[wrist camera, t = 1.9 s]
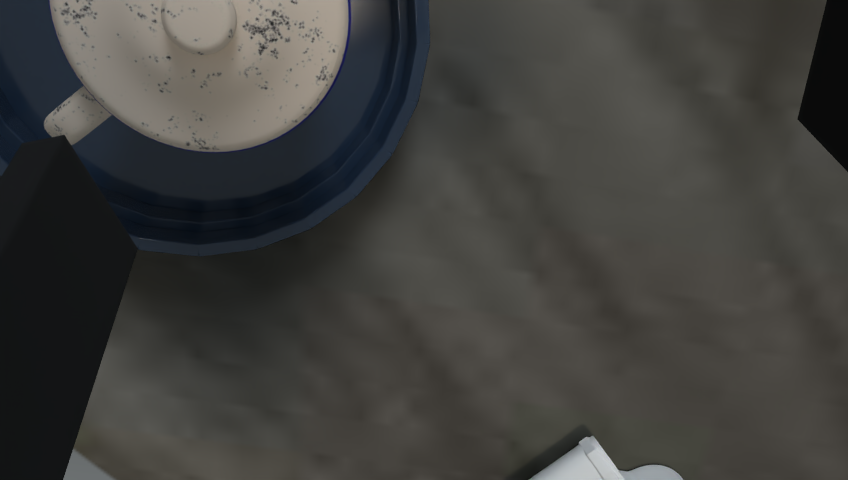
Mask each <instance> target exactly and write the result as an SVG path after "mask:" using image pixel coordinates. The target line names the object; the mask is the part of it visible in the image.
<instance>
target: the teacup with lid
mask: <svg viewBox="0 0 848 480" xmlns="http://www.w3.org/2000/svg"><path fill="white" fill-rule="evenodd" d="M48 2H49V8H50V14H51V19H52V23H53V26H54V30H55V33H56V36H57V39H58V41H59V44H60V47H61V49H62V51H63V53H64V55H65V57H66V59H67V61H68V63H69V65H70V67H71V68H72V70H73V71H74V73H75V75H76V76H77V78H78V79H79V80H80V82H81V83H82V84H83V87H82V88H80V89H79V90H78V91H77V92H75V93H74V94H73V95H72V96H70V97H69V98H68V99H67V100H65V101H64V102H63V103H62V104H61V105H59V106H58V107H57V108H56V109H55V110H54V111H52V112H51V113H50V114H49V115H48V116H47V117H46V119H45V121H44V128H45V130H46V131H47V133H48V134H49V135H50V136H51V137H55V136H60V135H65V136H66V138H67V140H68V141H69V143H70V144H71V145H73V144H75V143H77V142H78V141H79V140H81V139H82V138H83V137H85V136H86V135H87V134H89V133H90V132H91V131H92V130H94V129H95V128H96V127H97V126H99V125H100V124H101V123H102V122H104V121H105V120H106V119H107V118H109V117H110V116H111V115H113V116H114V117H115V118H116V119H118V120H119V121H120V122H122V123H123V124H125V125H126V126H128V127H129V128H131V129H132V130H134V131H136V132H138V133H140V134H142V135H144V136H145V137H148V138H150V139H152V140H155V141H157V142H159V143H162V144H165V145H168V146H171V147H175V148H179V149H183V150H188V151H194V152H202V153H229V152H237V151H243V150H247V149H252V148H256V147H259V146H262V145H265V144H267V143H270V142H272V141H274V140H276V139H279V138H280V137H282V136H284V135H286V134H287V133H289V132H291V131H292V130H294V129H295V128H296V127H298V126H299V125H301V124H302V123H303V122H304V121H305V120H306V119H307V118H309V117H310V116H311V115H312V114H313V113H314V112H315V110H316V109H317V108H318V107H319V106H320V105H321V103H322V102H323V101H324V100H325V98H326V97H327V96H328V94H329V92H330V91H331V89H332V87H333V86H334V84H335V82H336V80H337V78H338V76H339V74H340V71H341V69H342V66H343V63H344V60H345V57H346V53H347V49H348V44H349V38H350V30H351V3H350V0H48Z"/></svg>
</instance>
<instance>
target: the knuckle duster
mask: <svg viewBox="0 0 848 480" xmlns="http://www.w3.org/2000/svg"><path fill="white" fill-rule="evenodd" d="M529 480H683V479H682V477H681V476H680V475H679V474H678V473H677V472H676V471H674V470H673V469H671V468H669V467H666V466H662V465H647V466H642V467H639V468H636V469H633V470H631V471H621V470H618V469H617V468H616V466H615V465H614V464H613V462H612V461H611V459H610V458H609V457H608V455H607V454H606V453H605V451H604V450H603V448H602V447H601V446H600V444H599V443H598V442H597V440H596V439H595V438H594V436H593V435H592V436H591V437H585V438H584V439H582V440H581V441H579V445H578V446H576V447H575V448H573V449H572V450H571V451H569V452H568V453H566V454H565V455H563V456H562V457H560V458H559V459H557V460H556V461H555V462H553V463H552V464H550V465H549V466H547V467H546V468H545V469H543V470H542V471H540V472H539V473H537V474H536V475H534V476H533V477H532V478H530V479H529Z"/></svg>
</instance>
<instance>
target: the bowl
mask: <svg viewBox="0 0 848 480" xmlns="http://www.w3.org/2000/svg"><path fill="white" fill-rule="evenodd" d="M350 3H351V30H350V38H349V44H348V49H347V53H346V57H345V60H344V63H343V66H342V69H341V71H340V74H339V76H338V78H337V80H336V82H335V84H334V86H333V87H332V89H331V91H330V92H329V94H328V96H327V97H326V98H325V100H324V101H323V102H322V103H321V105H320V106H319V107H318V108H317V109H316V110H315V112H314V113H313V114H312V115H311V116H310V117H309V118H307V119H306V120H305V121H304V122H303V123H302V124H301V125H299V126H298V127H296V128H295V129H294V130H292V131H291V132H289V133H287V134H286V135H284V136H282V137H280V138H279V139H276V140H274V141H272V142H270V143H267V144H265V145H262V146H259V147H256V148H252V149H247V150H243V151H237V152H229V153H202V152H194V151H188V150H183V149H179V148H175V147H171V146H168V145H165V144H162V143H159V142H157V141H155V140H152V139H150V138H148V137H145V136H144V135H142V134H140V133H138V132H136V131H134V130H132V129H131V128H129V127H128V126H126V125H125V124H123V123H122V122H120V121H119V120H118V119H116V118H115V117H114V116H113V115H111V116H110V117H109V118H107V119H106V120H105V121H104V122H102V123H101V124H100V125H99V126H97V127H96V128H95V129H94V130H92V131H91V132H90V133H89V134H87V135H86V136H85V137H83V138H82V139H81V140H79V141H78V142H77V143H75V144H73V145H71V146H72V147H73V149H74V150H75V152H76V154H77V155H78V157H79V158H80V160H81V161H82V163H83V164H84V166H85V168H86V169H87V171H88V172H89V174H90V175H91V177H92V178H93V180H94V182H95V183H96V185H97V186H98V188H99V189H100V191H101V192H102V194H103V195H104V197H105V199H106V200H107V202H108V203H109V205H110V206H111V208H112V209H113V211H114V213H115V214H116V216H117V217H118V219H119V220H120V222H121V223H122V225H123V227H124V228H125V230H126V231H127V233H128V234H129V236H130V237H131V239H132V241H133V242H134V244H135V245H136V247H137V248H138V250H143V251H152V252H161V253H171V254H180V255H190V256H208V255H216V254H224V253H232V252H240V251H248V250H256V249H257V248H258V249H259V248H262V247H265V246H267V245H270V244H272V243H275V242H278V241H280V240H283V239H286V238H288V237H291V236H294V235H296V234H299V233H301V232H304V231H307V230H309V229H310V228H313V227H314V226H316V225H317V224H318V223H320V222H321V221H323V220H324V219H326V218H327V217H328V216H330V215H331V214H333V213H334V212H336V211H337V210H338V209H340V208H341V207H343V206H344V205H346V204H347V203H348V202H350V201H351V200H353V199H354V198H355V196H358V194H359V193H360V192H361V191H362V190H363V189H364V187H365V186H366V185H367V184H368V183H369V182H370V180H371V179H372V178H373V177H374V176H375V175H376V173H377V172H378V171H379V170H380V169H381V168H382V166H383V165H384V164H385V163H386V162H387V161H388V159H389V158H390V157H391V156H392V154H393V153H394V151H395V149H396V147H397V145H398V143H399V141H400V139H401V137H402V134H403V132H404V130H405V128H406V126H407V124H408V122H409V120H410V118H411V116H412V114H413V112H414V110H415V108H416V106H417V102H418V100H419V96H420V91H421V86H422V81H423V76H424V71H425V66H426V62H427V57H428V52H429V47H430V25H429V2H428V0H350ZM82 87H83V84H82V83H81V82H80V80H79V79H78V78H77V76H76V75H75V73H74V71H73V70H72V68H71V67H70V65H69V63H68V61H67V59H66V57H65V55H64V53H63V51H62V49H61V47H60V44H59V41H58V39H57V36H56V33H55V30H54V26H53V23H52V19H51V14H50V8H49V2H48V0H0V176H2V175H3V173H4V171H5V170H6V168H7V167H8V165H9V163H10V162H11V160H12V158H13V157H14V155H15V154H16V152H17V150H18V149H19V147H20V146H21V144H22V143H26V142H31V141H36V140H41V139H46V138H51V136H50V135H49V134H48V133H47V131H46V130H45V128H44V121H45V119H46V117H47V116H48V115H49V114H50V113H51V112H52V111H54V110H55V109H56V108H57V107H58V106H59V105H61V104H62V103H63V102H64V101H65V100H67V99H68V98H69V97H70V96H72V95H73V94H74V93H75V92H77V91H78V90H79V89H80V88H82Z"/></svg>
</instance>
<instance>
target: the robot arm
mask: <svg viewBox="0 0 848 480" xmlns="http://www.w3.org/2000/svg"><path fill="white" fill-rule="evenodd" d="M798 120H799V121H800V122H801V123H802V124H803V125H804V126H805V127H806V128H807V130H808V131H809V132H810V133H811V134H812V135H813V136H814V137H815V138H816V139H817V140H818V141H819V142H820V143H821V144H822V145H823V146H824V147H825V148H826V150H827V151H828V152H829V153H830V154H831V155H832V156H833V157H834V158H835V159H836V160H837V161H838V162H839V163H840V164H841V165H842V166H843V167H844V168H845V169H846V171H847V172H848V0H827V3H826V7H825V11H824V15H823V19H822V23H821V27H820V31H819V35H818V39H817V43H816V47H815V51H814V55H813V59H812V63H811V67H810V71H809V75H808V79H807V83H806V87H805V91H804V95H803V99H802V103H801V107H800V111H799V115H798ZM137 249H138V248H137V247H136V245H135V244H134V242H133V241H132V239H131V237H130V236H129V234H128V233H127V231H126V230H125V228H124V227H123V225H122V223H121V222H120V220H119V219H118V217H117V216H116V214H115V213H114V211H113V209H112V208H111V206H110V205H109V203H108V202H107V200H106V199H105V197H104V195H103V194H102V192H101V191H100V189H99V188H98V186H97V185H96V183H95V182H94V180H93V178H92V177H91V175H90V174H89V172H88V171H87V169H86V168H85V166H84V164H83V163H82V161H81V160H80V158H79V157H78V155H77V154H76V152H75V150H74V149H73V147H72V146H71V144H70V143H69V141H68V140H67V138H66V136H65V135H60V136H55V137H51V138H46V139H41V140H36V141H31V142H26V143H22V144H21V146H20V147H19V149H18V150H17V152H16V154H15V155H14V157H13V158H12V160H11V162H10V163H9V165H8V167H7V168H6V170H5V171H4V173H3V175H2V176H1V178H0V480H63V478H64V475H65V472H66V469H67V466H68V463H69V459H70V456H71V453H72V450H73V447H74V444H75V441H76V438H77V435H78V432H79V429H80V425H81V422H82V419H83V416H84V413H85V410H86V407H87V404H88V401H89V398H90V394H91V391H92V388H93V385H94V382H95V379H96V376H97V373H98V370H99V367H100V364H101V360H102V357H103V354H104V351H105V348H106V345H107V342H108V339H109V336H110V333H111V329H112V326H113V323H114V320H115V317H116V314H117V311H118V308H119V305H120V302H121V299H122V295H123V292H124V289H125V286H126V283H127V280H128V277H129V274H130V271H131V268H132V265H133V261H134V258H135V255H136V252H137Z"/></svg>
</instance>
